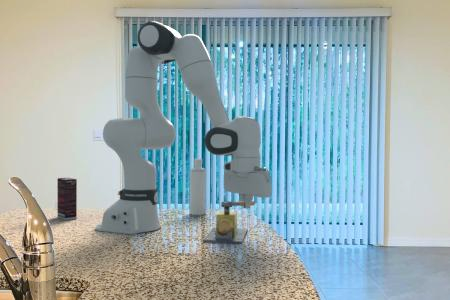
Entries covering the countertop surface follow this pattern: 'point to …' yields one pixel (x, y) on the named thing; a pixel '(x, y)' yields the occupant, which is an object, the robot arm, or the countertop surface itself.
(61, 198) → the supplement box
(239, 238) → the valve
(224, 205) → the lever
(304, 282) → the countertop surface
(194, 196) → the grey bottle
